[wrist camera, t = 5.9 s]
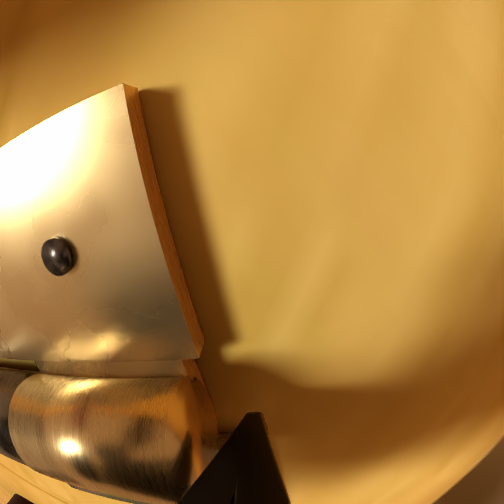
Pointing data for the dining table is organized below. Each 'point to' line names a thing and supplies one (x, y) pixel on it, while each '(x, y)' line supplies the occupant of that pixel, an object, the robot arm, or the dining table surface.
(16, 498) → the coffee mug
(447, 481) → the dining table surface
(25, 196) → the brass leaf
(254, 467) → the robot arm
